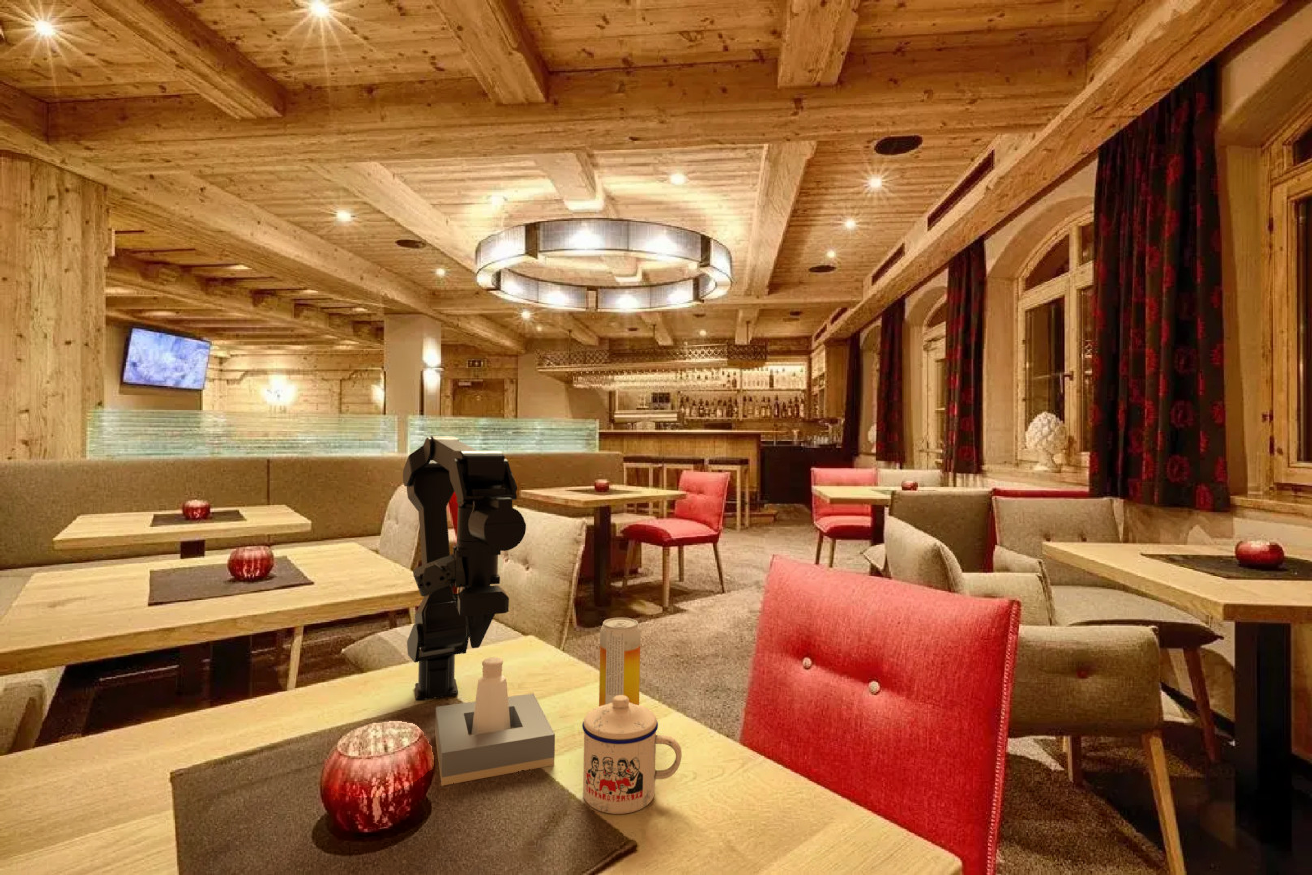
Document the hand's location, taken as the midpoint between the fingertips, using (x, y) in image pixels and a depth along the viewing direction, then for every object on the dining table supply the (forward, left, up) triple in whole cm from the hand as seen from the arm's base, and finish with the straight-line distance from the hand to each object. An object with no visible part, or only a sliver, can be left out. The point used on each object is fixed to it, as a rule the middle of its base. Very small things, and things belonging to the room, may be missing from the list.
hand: (475, 647), depth 90 cm
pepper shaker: (+4, +2, -12) cm, 13 cm away
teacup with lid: (+22, +16, -13) cm, 30 cm away
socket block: (+5, +2, -13) cm, 14 cm away
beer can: (+3, +21, -13) cm, 25 cm away
